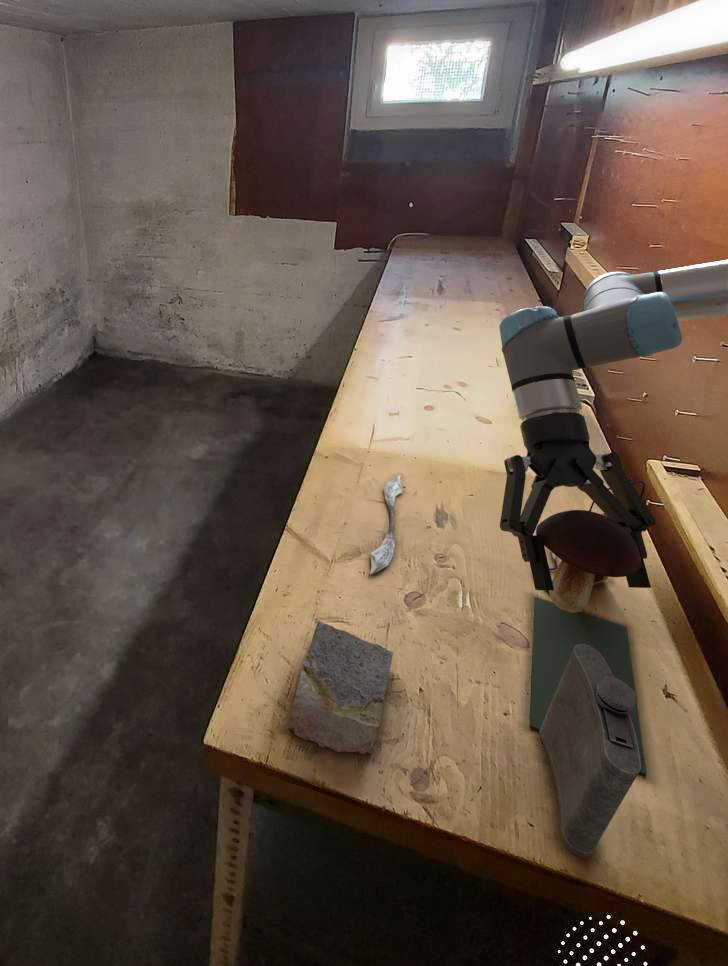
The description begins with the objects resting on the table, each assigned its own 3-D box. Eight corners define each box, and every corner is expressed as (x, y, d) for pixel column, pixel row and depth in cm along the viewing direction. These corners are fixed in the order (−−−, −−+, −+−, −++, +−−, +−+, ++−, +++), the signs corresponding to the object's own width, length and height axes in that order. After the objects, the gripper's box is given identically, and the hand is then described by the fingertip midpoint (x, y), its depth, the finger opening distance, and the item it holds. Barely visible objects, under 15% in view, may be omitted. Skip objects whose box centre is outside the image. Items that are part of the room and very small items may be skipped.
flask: (570, 732, 71) (614, 635, 62) (604, 864, 59) (664, 766, 51) (537, 723, 72) (576, 627, 64) (564, 851, 60) (617, 754, 52)
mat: (625, 627, 85) (626, 626, 85) (645, 775, 66) (646, 774, 66) (534, 598, 90) (535, 596, 90) (529, 727, 72) (530, 725, 72)
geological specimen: (395, 643, 78) (379, 739, 65) (388, 673, 80) (371, 772, 68) (318, 616, 82) (290, 701, 69) (314, 646, 84) (285, 733, 72)
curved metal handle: (366, 575, 96) (397, 582, 94) (367, 572, 95) (397, 579, 94) (380, 471, 122) (403, 475, 121) (380, 469, 122) (404, 473, 120)
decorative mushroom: (503, 576, 80) (527, 490, 73) (582, 575, 79) (614, 489, 73) (545, 642, 70) (578, 550, 63) (636, 641, 69) (678, 549, 63)
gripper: (617, 422, 80) (664, 585, 73) (452, 427, 80) (482, 590, 73) (658, 407, 73) (714, 586, 65) (476, 412, 73) (512, 592, 66)
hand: (592, 589), depth 69 cm, fingers closed on decorative mushroom, 11 cm apart
